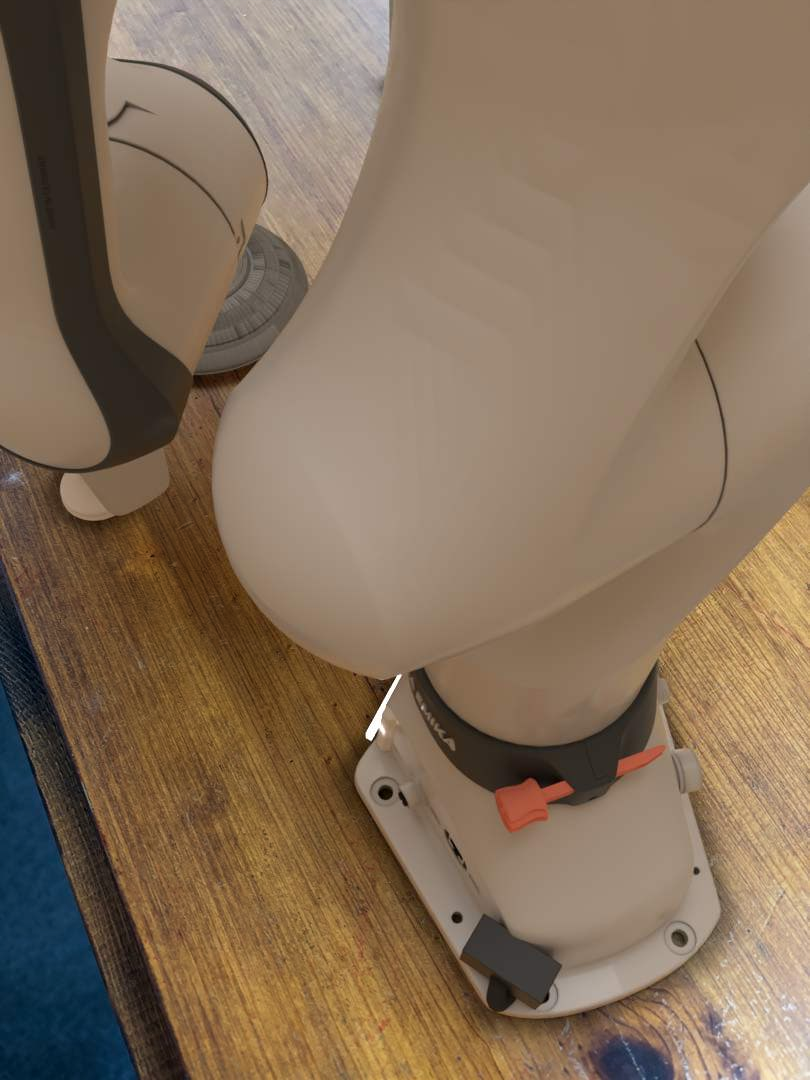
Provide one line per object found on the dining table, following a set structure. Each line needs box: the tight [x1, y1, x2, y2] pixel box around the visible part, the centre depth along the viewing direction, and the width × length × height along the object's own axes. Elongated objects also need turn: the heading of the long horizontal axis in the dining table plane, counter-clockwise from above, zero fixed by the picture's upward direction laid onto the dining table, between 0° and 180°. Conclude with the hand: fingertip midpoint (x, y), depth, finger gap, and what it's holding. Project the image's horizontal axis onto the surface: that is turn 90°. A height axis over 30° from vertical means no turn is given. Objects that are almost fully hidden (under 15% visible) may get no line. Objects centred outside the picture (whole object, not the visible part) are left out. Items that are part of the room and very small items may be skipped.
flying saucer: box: [193, 223, 309, 376], centre depth 76 cm, size 15×15×6 cm
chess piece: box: [59, 473, 116, 522], centre depth 66 cm, size 5×5×10 cm
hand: (81, 437), depth 67 cm, fingers open, 8 cm apart
